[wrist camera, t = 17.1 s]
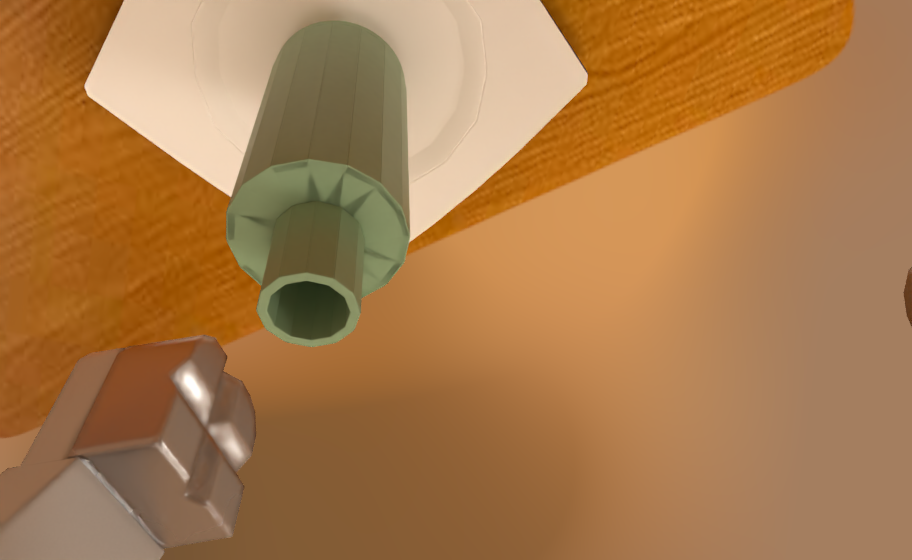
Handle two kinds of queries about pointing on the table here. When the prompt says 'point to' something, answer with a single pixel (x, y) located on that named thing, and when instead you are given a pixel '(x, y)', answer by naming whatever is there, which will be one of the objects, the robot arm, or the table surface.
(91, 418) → the robot arm
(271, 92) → the bottle
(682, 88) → the table surface
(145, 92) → the plate
